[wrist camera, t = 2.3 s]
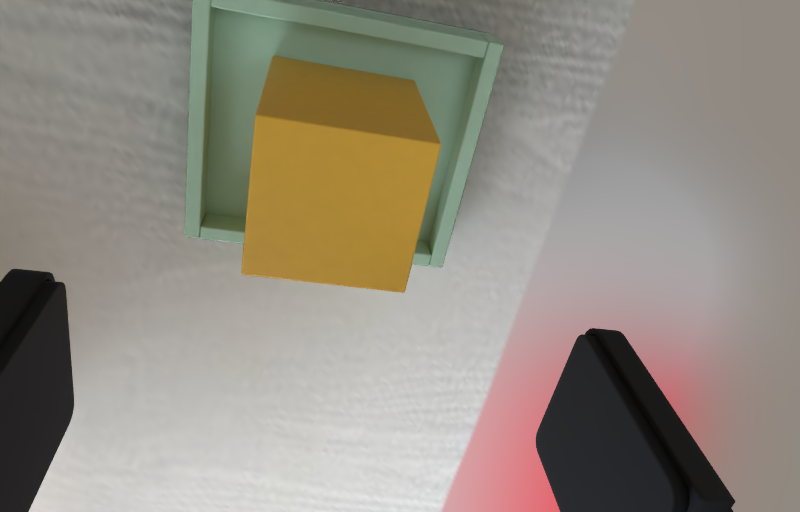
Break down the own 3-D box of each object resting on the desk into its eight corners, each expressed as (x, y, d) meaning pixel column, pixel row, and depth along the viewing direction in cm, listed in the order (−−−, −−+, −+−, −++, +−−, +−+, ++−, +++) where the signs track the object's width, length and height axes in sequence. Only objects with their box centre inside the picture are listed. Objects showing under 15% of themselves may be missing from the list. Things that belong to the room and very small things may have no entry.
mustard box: (415, 80, 20) (442, 143, 15) (388, 205, 22) (404, 293, 18) (272, 54, 19) (255, 113, 14) (259, 187, 21) (240, 275, 17)
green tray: (493, 34, 20) (504, 45, 19) (436, 247, 24) (442, 268, 23) (201, -24, 18) (192, -16, 17) (192, 216, 22) (184, 237, 21)
